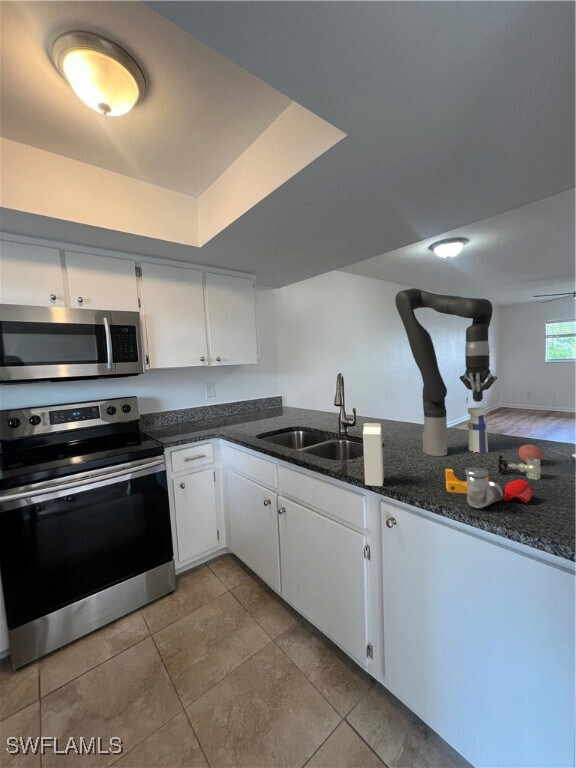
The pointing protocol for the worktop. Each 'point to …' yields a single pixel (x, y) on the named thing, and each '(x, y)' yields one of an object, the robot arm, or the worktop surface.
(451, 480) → the pipe clamp
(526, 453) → the apple
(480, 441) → the water bottle
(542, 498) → the worktop surface
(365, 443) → the milk
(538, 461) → the valve
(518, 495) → the cap
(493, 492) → the duct elbow
